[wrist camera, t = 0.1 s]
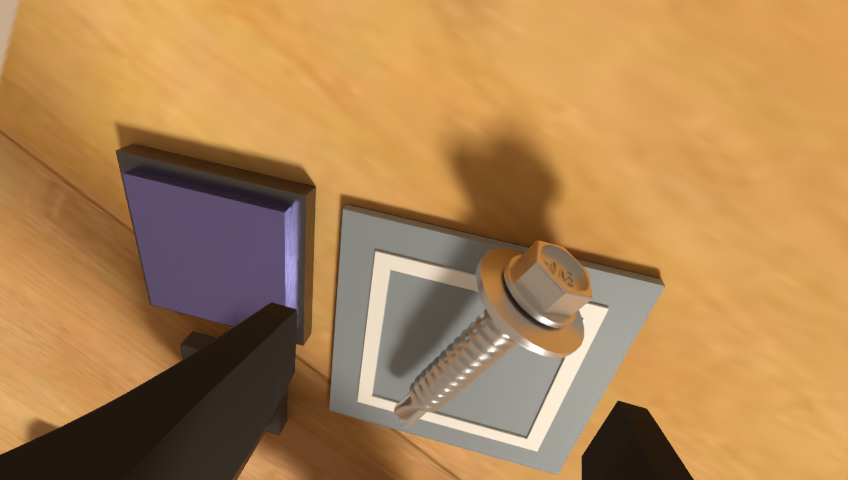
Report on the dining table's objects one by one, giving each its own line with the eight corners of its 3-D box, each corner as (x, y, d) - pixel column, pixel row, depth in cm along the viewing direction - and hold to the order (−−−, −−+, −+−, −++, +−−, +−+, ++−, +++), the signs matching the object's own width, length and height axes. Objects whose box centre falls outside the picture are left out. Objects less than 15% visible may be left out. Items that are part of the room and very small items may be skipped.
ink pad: (311, 333, 24) (298, 353, 23) (162, 293, 25) (142, 311, 23) (315, 187, 19) (300, 201, 18) (132, 143, 20) (104, 154, 19)
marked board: (556, 466, 26) (557, 476, 25) (332, 403, 27) (328, 412, 26) (661, 279, 18) (665, 288, 18) (346, 204, 19) (342, 210, 19)
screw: (514, 199, 17) (504, 273, 13) (610, 263, 18) (629, 351, 14) (375, 361, 25) (342, 439, 21) (446, 402, 25) (427, 485, 21)
